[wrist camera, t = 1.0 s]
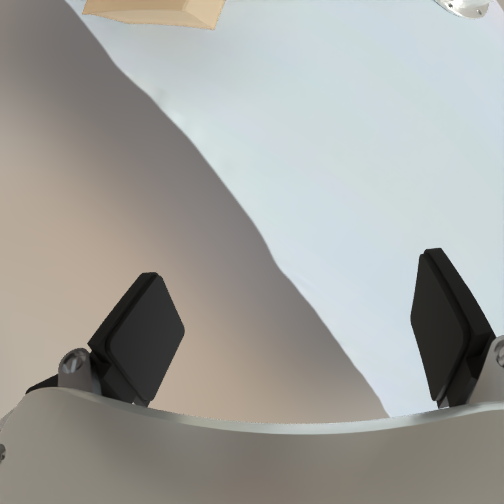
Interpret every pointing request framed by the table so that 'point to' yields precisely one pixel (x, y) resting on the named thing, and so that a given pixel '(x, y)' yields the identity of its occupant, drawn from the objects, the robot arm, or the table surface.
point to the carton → (174, 15)
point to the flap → (133, 5)
